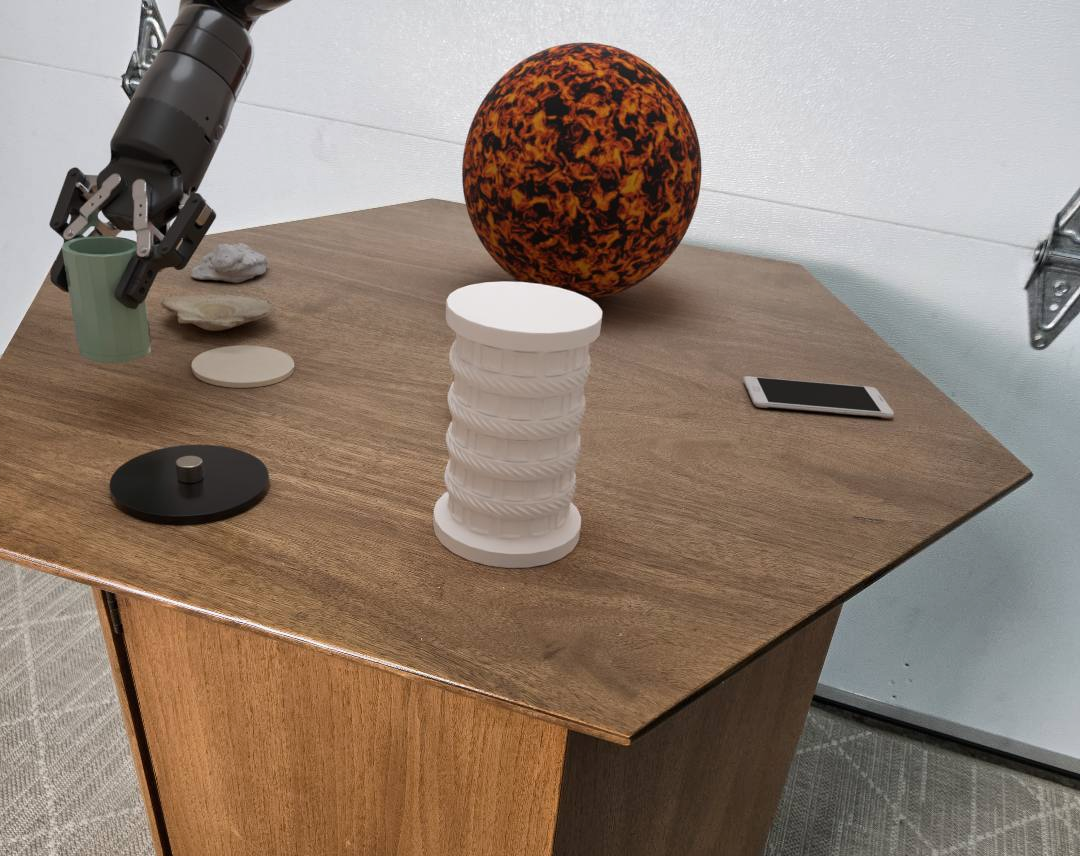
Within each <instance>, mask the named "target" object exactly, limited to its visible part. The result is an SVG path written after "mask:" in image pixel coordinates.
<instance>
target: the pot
mask: <svg viewBox="0 0 1080 856" xmlns="http://www.w3.org/2000/svg"><path fill="white" fill-rule="evenodd" d="M63 243H64V242H63ZM63 243H62V246H61V248H62V252H63V258H64V264H65V271H66V277H67V283H68V290H69V293H68V294H69V301H70V309H71V315H72V320H73V327H74V334H75V339H76V345H77V348H78V353H79V355H80V356H81V357H82V358H84V359H86V360H89V361H93V362H97V363H107V364H110V363H112V364H113V363H114V364H117V363H126V362H127V363H128V362H132V361H136V360H139V359H143V358H144V357H147V356H148V355H149V354H150V353H151V352H152V334H151V326H150V317H149V310H148V309H149V308H148V302H147V298H146V299H145V300H144V301H143V302H142V303H141V304H139V305H138V307H137V308H136V309H131V308H127V307H125V306H124V305H123V304H121V303H120V302H119V301H118V300H117V299H116V298H115V291H116V289H117V286H118V284H119V282H120V280H121V278H122V276H123V274H124V272H125V270H126V268H127V265H128V263H129V261H130V259H131V257H136V258H137V257H138V255H137V253H136V247H137V240H134V239H130V238H126V237H121V236H120V237H119V236H116V237H114V236H90V237H87V236H84V237H81V238H76V239H72V240H69V241H67V242H65V243H64V244H63Z"/></svg>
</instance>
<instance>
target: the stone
mask: <svg viewBox="0 0 1080 856" xmlns="http://www.w3.org/2000/svg"><path fill="white" fill-rule="evenodd" d="M269 263H270V261H269V259H268V258H267V257H266V255H264V254H261V253H260V252H257V251H255V250H252V249H251V248H250V247H249V245H247V244H245V243H243V242H239V243H234V244H228V243H220V244H218V245H217V246H216V247H214V249H213V250H212V251H211V252H209V253H208V254H205V255H204V257H202V259H201V260H200V261H198V263H196V265H195V267H193V268H192V269H191V270H190V271H191V273H190V277H191V279H195V280H201V281H203V280H211V281H223V282H228V283H235V284H239V283H241V282H245V281H247V280H252V279H253V278H254V277H256V276H260V275H263V274H264V273H266V272H267V266H268V265H269Z"/></svg>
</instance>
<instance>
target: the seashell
mask: <svg viewBox="0 0 1080 856" xmlns="http://www.w3.org/2000/svg"><path fill="white" fill-rule="evenodd" d="M159 305H160V307H161V308H162V309H163V310H165V311H167V312H168V313H170V314H172V315H175V316H176V317H177V321H178V324H192V325H194V326H196V327H199V328H200V329H203V330H205V331H211V332H217V331H226V330H230V329H232V328H236V327H238V326H241V325H244V324H248V323H251V322H252V321H253V322H254V321H257V320H260V319H263V318H266V317H267V316H269V315H271V314H272V313H274V311H275V309H276V306H275V305H274V303H273V302H270V301H269V300H265V299H264V298H260V297H258V296H255V297H252V296H250V295H227V294H183V295H171V294H170V295H169V296H167V295H166V296H165V297H162V298H161V300H160V301H159Z"/></svg>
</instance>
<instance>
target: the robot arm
mask: <svg viewBox="0 0 1080 856" xmlns="http://www.w3.org/2000/svg"><path fill="white" fill-rule="evenodd" d="M292 1H293V0H179V4H178V5H179V6H178V12H177V17H175V20H174V21H173V23H172V25H171V26H170V29H169V30H168V33H167V34H166V36H165V38H164V40H163V42H162V44H161V46H160V48H159V51H158V53H157V55H156V56H155V58H154V60H153V61H152V63H151V64H150V66H149V67H148V68H147V70H146V71H145V72H144V74H143V75H142V77H141V79H140V81H139V83H138V85H137V87H136V89H135V91H134V93H133V96H132V97H131V99H130V101H129V103H128V105H127V107H126V109H125V111H124V113H123V115H122V117H121V119H120V122H119V123H118V125H117V126H116V129H115V131H114V133H113V135H112V137H111V139H110V144H109V146H110V147H109V148H110V161H109V162H108V163H107V165H106V166H105V167H104V168H103V169H102V170H101V171H99V173H98V174H97V175H96V174H85V173H84V172H83V171H82V170H81V169H79V167H77V166H76V167H71V168H69V170H68V171H67V173H66V176H65V178H64V180H63V181H64V182H63V184H62V187H61V190H60V192H59V195H58V198H57V201H56V204H55V205H54V209H53V212H52V215H51V217H50V221H49V224H48V225H49V227H50V229H52V230H53V231H54V232H55V233H56V234H57V235H59V236H60V237H61V238H62V239H63V243H62V245H63V244H64V243H65V242H67V241H69V240H72V239H76V238H81V237H85V235H84V234H85V233H86V232H87V231H89V229H90V228H92V227H93V230H91V232H89V234H87V236H86V237H90V236H114V237H118V235H119V234H120V233H121V232H122V231H124V232H135V234H136V242H137V247H136V253H137V255H138V257H137V258H136V257H131V259H130V261H129V263H128V265H127V268H126V270H125V272H124V274H123V276H122V278H121V280H120V282H119V284H118V286H117V289H116V291H115V298H116V299H117V300H118V301H119V302H120V303H121V304H123V305H124V306H125V307H127V308H131V309H136V308H137V307H138V305H139V304H141V303H142V302H143V301H144V300H145V299H146V300H147V296H148V294H149V293H150V290H151V287H152V286H153V284H154V281H155V280H156V277H157V276H158V273H161V272H163V271H165V269H168V268H174V269H175V270H176V271H182V270H184V269H185V268H186V267H187V265H188V264H189V262H190V260H191V259H192V257H193V255H194V254H195V252H196V251H197V249H198V247H199V246H200V244H201V243H202V241H203V239H204V237H206V235H207V233H208V231H209V229H210V228H211V227H212V225H213V223H214V221H215V220H216V219H217V212H216V210H214V209H213V208H212V206H211V205H210V204H209V202H208V201H207V200H206V199H205V198H204V197H203V195H201V194H200V193H199V192H198V190H199V189H200V187H201V184H202V182H203V180H204V177H205V175H206V173H207V171H208V169H209V167H210V165H211V162H212V161H213V159H214V156H215V154H216V152H217V150H218V148H219V146H220V143H221V141H222V139H223V137H224V135H225V132H226V130H227V128H228V126H229V122H230V119H231V115H232V112H233V109H234V106H235V103H236V101H237V99H238V97H239V95H240V93H241V91H242V89H243V87H244V84H245V82H246V80H247V78H248V76H249V74H250V72H251V69H252V67H253V62H254V58H255V45H254V42H253V39H252V36H251V35H250V34H251V32H252V29H253V28H254V26H255V24H256V23H257V22H258V20H259V19H260V18H261V17H262V16H265V15H267V14H269V13H271V12H272V11H274V10H277V9H279V8H281V7H283V6H285V5H287V4H288V3H291V2H292ZM100 212H101V214H102V215H103V216H104V218H106V219H107V220H108V221H107V222H103V221H102V220H101V219H100V218H99V213H100ZM69 218H70V220H69ZM68 220H69V222H68ZM180 243H181V244H180ZM178 246H179V247H178ZM49 276H50V282H51V283H52V285H54V286H55V287H57V288H58V289H59V290H61V291H62V292H65V293H68V294H69V290H68V283H67V277H66V271H65V264H64V258H63V252H62V247H61V248H60V250H59V252H58V253H57V256H56V258H55V260H54V262H53V264H52V266H51V268H50V272H49Z"/></svg>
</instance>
